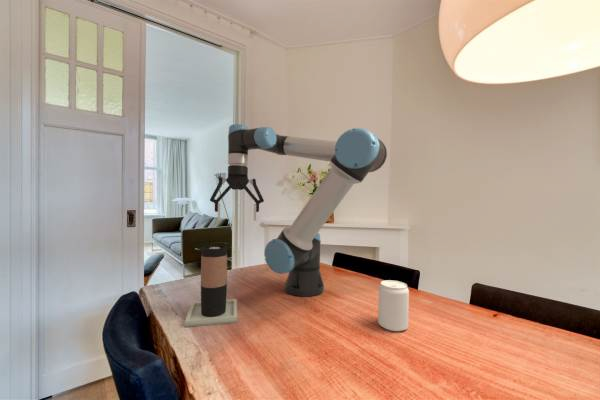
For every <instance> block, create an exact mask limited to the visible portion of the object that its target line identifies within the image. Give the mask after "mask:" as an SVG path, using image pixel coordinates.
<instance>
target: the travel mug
mask: <svg viewBox="0 0 600 400" xmlns="http://www.w3.org/2000/svg"><path fill="white" fill-rule="evenodd" d="M200 255H201V259H200V302H201V314H202V315H203V316H205V317H216V316H220V315H222V314H224V313H225V311H226V300H227V290H228V246H226V245H225V244H207V245H203V246H201V254H200Z"/></svg>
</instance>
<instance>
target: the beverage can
mask: <svg viewBox="0 0 600 400" xmlns="http://www.w3.org/2000/svg"><path fill="white" fill-rule="evenodd" d="M409 299H410V290H409V288H408V284H407V283H406V282H402V281H399V280H391V279H388V280H387V279H386V280H382V281H380V285H379V286H378V310H377V311H378V312H377V313H378V315H377V323H378V324H379V326H380V327H382V328H384V329H386V330H388V331H391V332H402V331H405V330H407V329H408V328H409V304H410V300H409Z"/></svg>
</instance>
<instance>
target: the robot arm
mask: <svg viewBox="0 0 600 400" xmlns="http://www.w3.org/2000/svg"><path fill="white" fill-rule="evenodd" d="M227 138H228V139H227V141H228V142H227V143H228V144H227V146H228V149H227V150H228V151H227V153H228V154H227V165H228V166H227V178H224V177H221V176H220V177H219V179H218V184H217V186H216V188H215V189H214V191H213V193H212V194H211V196H210V199H209V201H210V202H212V203H213V204H214V212H217V221H219V222H221V203H219V202H220V201H221V200H222V199H223V198H224V197H225V196H226V194H228V192H229V191H230V190H233V191H235V190H236V191H237V190H239V191H242V190H244V191H245V192H246V193H247V194H248V196H249V197H251V199H252V200H253V201H254V203H253V222H256V221H257V213H259V211H260V204H261V203H264V202H265V200H264V197H263V195H262V194H261V193H262V192H261V191H260V190H259V188H258V185H257V179H256V178H251V179H249V175H248V172H249V169H248V168H249V167H248V166H249V151H250V150H261V151H265V152H268V153H273V154H276V155H278V156H290V157H291V156H292V157H296V158H303V159H310V160H315V161H316V160H317V161H324V162H329V163H330V164H329V165H330V169H329V171H328V172H327V173H326V175H325V176H324V178H323V179H322V181H321V182H320V184H319V185H318V186H317V188H316V189H315V191H314V192H313V194H312V195H311V196H310V198H309V200H307V202H306V204H305V205H304V207H303V208H302V210H301V211H300V212H299V214H298V215H297V217H296V218H295V219H294V221H293V222H292V224H291V225H289V226H288V225H287V226H285V227H283V229H282V230H281V232H280V233H279V234H278V237H276V238H274V239H272V240H270V241H268V243H266V245H265V248H264V253H263V255H264V257H265V262H266V265H267V266H268V268H270V270H271V271H272V272H274V273H276V274H280V275H281V274H282V275H283V274H288V275H287V278H286V280H285V281H286V282H285V285H284V286H285V287H284V289H285V290H284V291H285V293H288V294H289V295H292V296H297V297H314V296H319V295H321V294H324V290H325V284H324V280H323V277H322V274H321V270H320V268H321V242H322V241H321V235H320V233H319V232H320V231H321V229H322V228H323V227H324V226H325V224H326V222H327V221H328V220H329V218H330V217H331V216H332V215H333V213H334V211H335V210H336V208H338V206H339V205H340V203H341V202H342V200H343V199H344V198H345V197H346V195H347V194H348V192H349V191H350V190H351V189H352V187H353V186H354V185H355V184H360V183H362V182H363V180H364V179H365V178H366V177H367V176H368V174H369V173H374V172H377V171H378V170H379V169H381V168H382V167H383V166H384V164H385V163H386V160H387V157H388V152H387V151H388V150H387V148H386V145H385V143H384V142H383V141H382V140H381V139H380V138H378V137H377V135H376V134H374V133H373V132H372V131H369V130H367V129H365V128H362V127H355V128H354V127H353V128H350V129H348V130H346V131H344V132H343V133H342V134H341V135H339V137H338V138H337V141H335V140H334V141H333V140H327V139H326V140H325V139H316V138H307V137H297V136H287V135H280V134H277V133H276V131H275V130H274V129H273V128H272V127H270V126H266V127H265V126H261V127H258V128H257V127H256V128H250V129H249V127H248V126H247V125H245V124H240V123H238V124H237V123H235V124H231V125H230V126H229V127H228V136H227ZM225 182H226V183H227V184H228V186H227V187H226V188H225V189H224V190H223V191H222V193H221V194H220V195H219V196H218V197H217V198H216V196H217V195H218V192H219V191H220V189H221V188H222V186H223V184H225ZM249 183H250V185H251V186H252V187H253V189H254V191H255V193H256V195H257V197H258V198H257V197H256V196H255V194H254V193H252V191H251V190H250V189H249V188H248V186H247V185H248V184H249ZM215 198H216V199H215Z"/></svg>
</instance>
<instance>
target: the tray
mask: <svg viewBox="0 0 600 400" xmlns="http://www.w3.org/2000/svg"><path fill="white" fill-rule="evenodd" d="M237 300H238V299H237V298H232V299H226V311H225V313H224V314H222V315H220V316H216V317H205V316H203V315H202V314H201V301H192V302H191V305H190V307H189V309H188V312H187V314H186V316H185V317H186V318H185V320H184V328H192V327H193V328H194V327H202V326H203V327H204V326H215V325H225V324H236V323H238V304H237V303H238V301H237Z"/></svg>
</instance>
